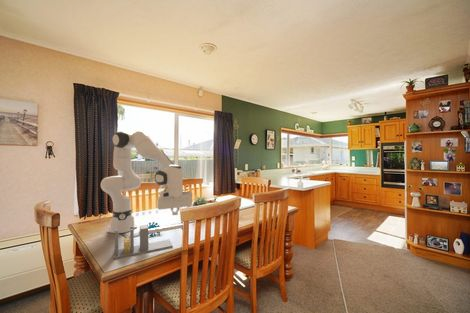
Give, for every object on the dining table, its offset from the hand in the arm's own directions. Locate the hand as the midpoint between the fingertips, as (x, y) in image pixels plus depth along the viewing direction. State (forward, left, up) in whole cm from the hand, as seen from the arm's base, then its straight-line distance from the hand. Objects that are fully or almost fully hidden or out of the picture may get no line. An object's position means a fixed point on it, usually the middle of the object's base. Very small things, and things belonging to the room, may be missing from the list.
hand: (174, 214), depth 126 cm
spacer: (-3, -26, -17) cm, 31 cm away
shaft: (-3, -6, -11) cm, 13 cm away
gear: (-23, -10, -19) cm, 32 cm away
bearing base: (-3, -17, -18) cm, 25 cm away
